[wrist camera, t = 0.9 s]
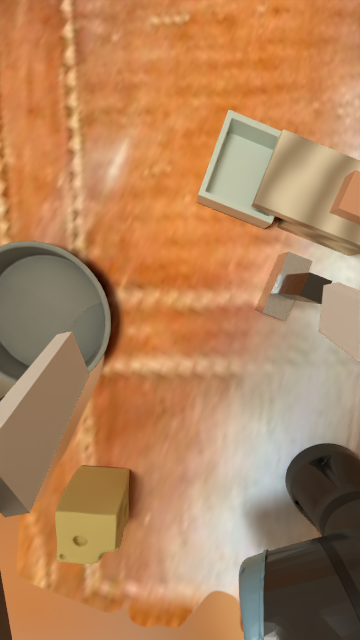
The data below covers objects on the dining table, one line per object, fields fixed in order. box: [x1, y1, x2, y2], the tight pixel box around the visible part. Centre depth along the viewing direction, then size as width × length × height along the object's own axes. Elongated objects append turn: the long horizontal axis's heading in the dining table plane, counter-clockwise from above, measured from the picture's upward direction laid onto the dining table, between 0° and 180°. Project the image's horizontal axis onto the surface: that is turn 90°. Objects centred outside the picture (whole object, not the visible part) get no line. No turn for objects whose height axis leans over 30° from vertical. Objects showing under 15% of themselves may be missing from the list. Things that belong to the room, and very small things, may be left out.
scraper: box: [255, 252, 332, 321], centre depth 34 cm, size 4×10×12 cm, turn 160°
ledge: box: [251, 129, 360, 255], centre depth 35 cm, size 19×10×6 cm, turn 70°
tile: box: [329, 170, 360, 225], centre depth 32 cm, size 5×5×2 cm
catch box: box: [197, 110, 282, 229], centre depth 36 cm, size 12×12×4 cm
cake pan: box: [0, 241, 111, 385], centre depth 40 cm, size 25×25×4 cm
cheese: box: [55, 466, 130, 564], centre depth 42 cm, size 10×11×10 cm
